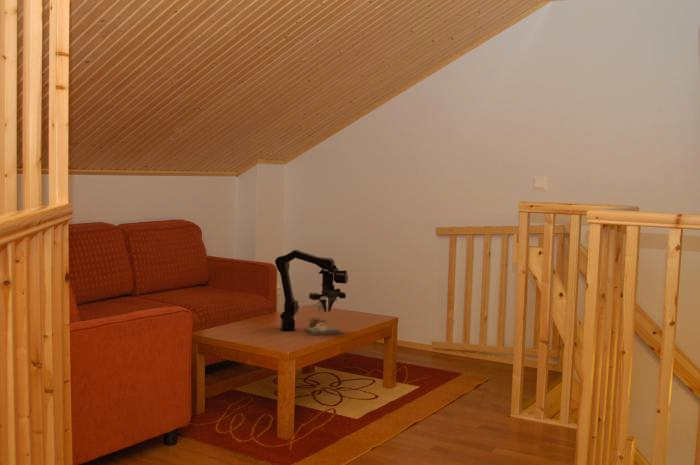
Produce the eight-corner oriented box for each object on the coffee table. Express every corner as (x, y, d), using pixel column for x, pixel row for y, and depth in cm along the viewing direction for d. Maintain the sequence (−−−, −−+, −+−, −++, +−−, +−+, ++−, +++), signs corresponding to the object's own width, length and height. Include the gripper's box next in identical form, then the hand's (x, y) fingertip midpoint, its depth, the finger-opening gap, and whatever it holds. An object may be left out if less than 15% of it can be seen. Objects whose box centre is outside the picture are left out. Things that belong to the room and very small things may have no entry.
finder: (319, 330, 407) (319, 325, 406) (316, 328, 411) (316, 323, 411) (326, 330, 408) (326, 324, 408) (323, 328, 413) (323, 323, 412)
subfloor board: (313, 335, 404) (313, 331, 404) (304, 330, 415) (304, 327, 415) (339, 333, 410) (339, 330, 410) (331, 328, 421) (331, 325, 421)
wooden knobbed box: (311, 328, 420) (312, 317, 420) (309, 327, 423) (309, 316, 423) (318, 328, 422) (318, 317, 421) (315, 326, 425) (315, 316, 424)
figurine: (330, 321, 440) (331, 295, 439) (326, 322, 437) (327, 296, 435) (313, 319, 446) (313, 293, 444) (309, 320, 442) (310, 294, 441)
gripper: (316, 285, 398) (316, 315, 399) (350, 284, 405) (349, 313, 406) (308, 282, 408) (308, 311, 409) (341, 280, 415) (341, 309, 417)
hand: (327, 312), depth 410 cm, fingers closed
